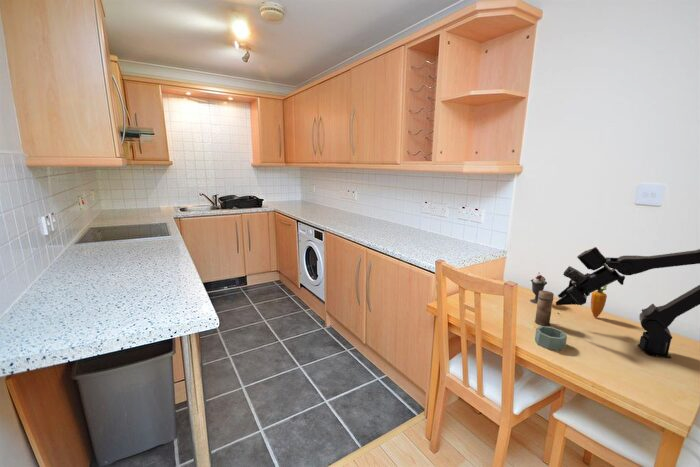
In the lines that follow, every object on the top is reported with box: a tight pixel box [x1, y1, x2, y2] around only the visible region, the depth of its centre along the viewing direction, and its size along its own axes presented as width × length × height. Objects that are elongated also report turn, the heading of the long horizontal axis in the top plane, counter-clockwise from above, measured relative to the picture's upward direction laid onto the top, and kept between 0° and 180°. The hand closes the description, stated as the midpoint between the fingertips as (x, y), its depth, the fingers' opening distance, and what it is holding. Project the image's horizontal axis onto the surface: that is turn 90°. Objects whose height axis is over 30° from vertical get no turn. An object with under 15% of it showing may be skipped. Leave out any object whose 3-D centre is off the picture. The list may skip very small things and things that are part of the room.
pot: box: [534, 325, 568, 352], centre depth 112 cm, size 9×9×4 cm
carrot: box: [590, 285, 608, 319], centre depth 131 cm, size 5×5×15 cm
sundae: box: [529, 273, 548, 305], centre depth 147 cm, size 7×7×15 cm
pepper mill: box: [534, 290, 555, 327], centre depth 126 cm, size 5×5×13 cm
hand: (557, 300), depth 123 cm, fingers open, 9 cm apart
